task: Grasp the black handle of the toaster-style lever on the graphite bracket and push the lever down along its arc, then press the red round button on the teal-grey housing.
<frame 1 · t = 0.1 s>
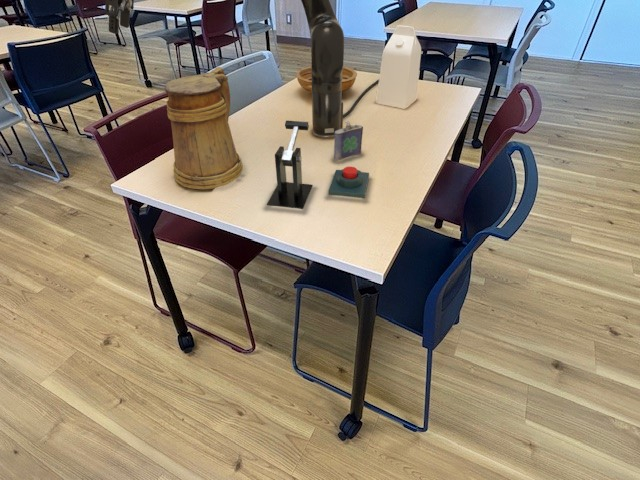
hand: (119, 29, 103), 31 cm above the table, tool tilted 20°, fingers open, 8 cm apart
milk: (396, 102, 148), on the table
tankard: (215, 170, 107), on the table
button: (350, 172, 96), point 4 cm above the table, slide at 0.1 cm
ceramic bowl: (326, 94, 156), on the table
lever: (292, 142, 90), point 13 cm above the table, hinge at 25.0°
flask: (347, 158, 112), on the table
button box: (349, 188, 99), on the table
bracket: (290, 198, 95), on the table
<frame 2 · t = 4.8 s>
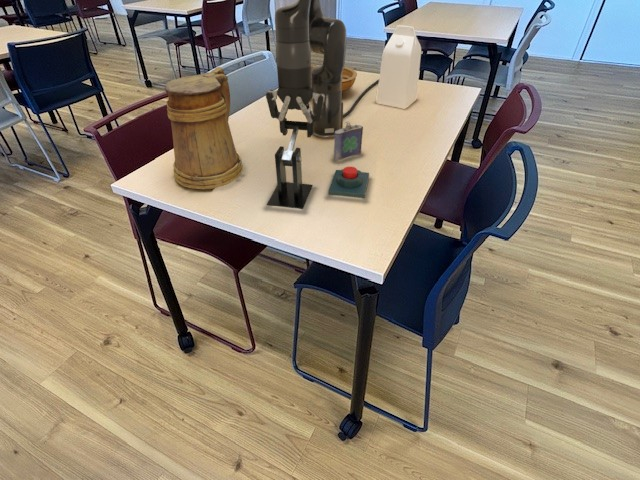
hand: (297, 135, 94), 13 cm above the table, tool pointing down, fingers closed on lever, 5 cm apart
lever: (292, 142, 90), point 13 cm above the table, hinge at 25.0°, touching gripper
everything else where it was.
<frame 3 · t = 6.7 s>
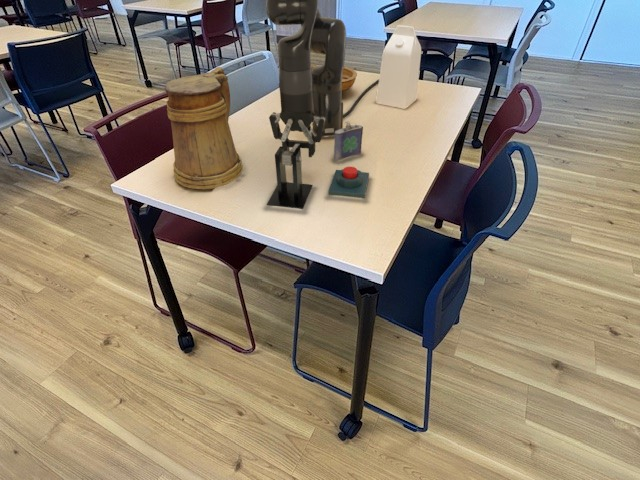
hand: (298, 154, 98), 7 cm above the table, tool pointing down, fingers closed on lever, 5 cm apart
lever: (293, 151, 92), point 11 cm above the table, hinge at -6.2°, touching gripper
everything else where it was.
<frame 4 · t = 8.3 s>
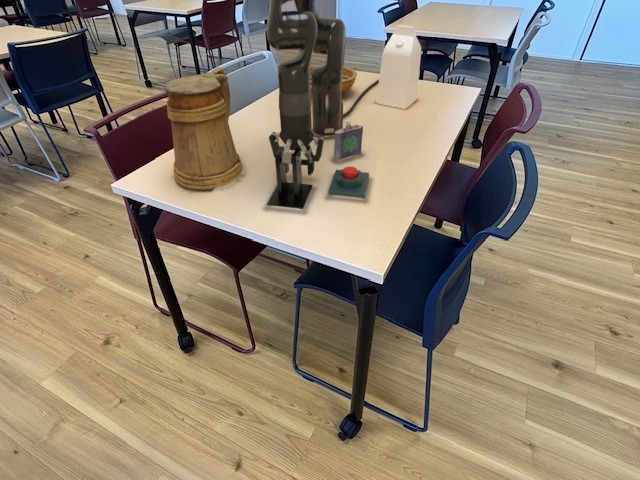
hand: (298, 172, 100), 3 cm above the table, tool pointing down, fingers closed on lever, 5 cm apart
lever: (293, 160, 93), point 9 cm above the table, hinge at -31.9°, touching gripper
everything else where it was.
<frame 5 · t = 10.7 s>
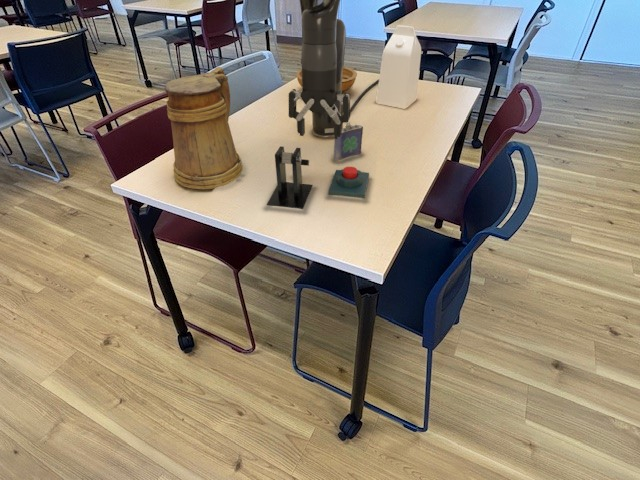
hand: (319, 136, 92), 13 cm above the table, tool pointing down, fingers open, 8 cm apart
lever: (293, 160, 93), point 9 cm above the table, hinge at -32.1°
everything else where it was.
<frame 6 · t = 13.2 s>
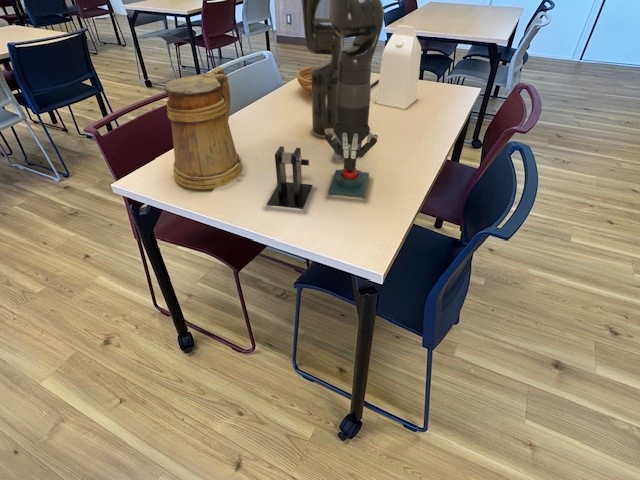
hand: (349, 170, 95), 5 cm above the table, tool pointing down, fingers closed
button: (350, 173, 96), point 4 cm above the table, slide at 0.0 cm, touching gripper
everything else where it was.
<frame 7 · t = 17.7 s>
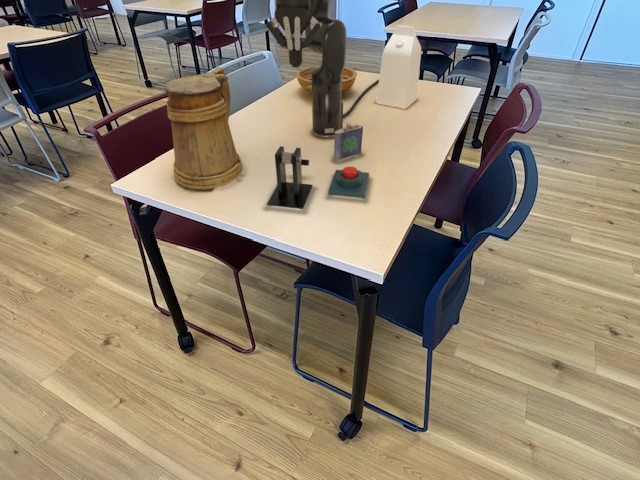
hand: (296, 66, 90), 27 cm above the table, tool pointing down, fingers closed
button: (350, 172, 96), point 4 cm above the table, slide at 0.1 cm
everything else where it was.
at the end: lever at -32° (first picture: +25°); button pushed in 1.0 cm at the most during the clip, back to where it started at the end; button slide at 0.1 cm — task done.
